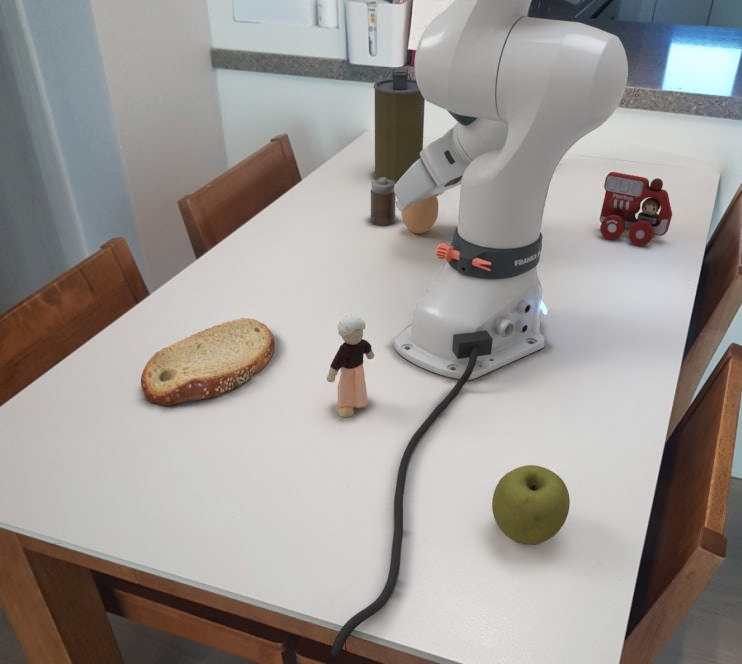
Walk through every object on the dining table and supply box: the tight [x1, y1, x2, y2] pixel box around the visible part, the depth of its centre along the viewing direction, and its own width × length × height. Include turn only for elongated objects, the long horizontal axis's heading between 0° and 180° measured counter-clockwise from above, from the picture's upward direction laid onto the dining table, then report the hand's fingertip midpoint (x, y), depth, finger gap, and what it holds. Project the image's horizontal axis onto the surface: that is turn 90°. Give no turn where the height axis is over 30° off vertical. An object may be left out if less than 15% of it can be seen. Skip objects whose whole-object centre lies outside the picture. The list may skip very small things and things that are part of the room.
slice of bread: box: [140, 317, 276, 406], centre depth 101 cm, size 18×18×4 cm
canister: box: [373, 67, 426, 185], centre depth 153 cm, size 11×10×20 cm
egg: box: [400, 195, 439, 235], centre depth 134 cm, size 7×7×9 cm
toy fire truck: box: [599, 171, 673, 247], centre depth 132 cm, size 7×12×10 cm, turn 60°
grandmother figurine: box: [326, 314, 375, 418], centre depth 91 cm, size 8×4×13 cm, turn 148°
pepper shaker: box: [370, 177, 397, 227], centre depth 138 cm, size 5×5×8 cm
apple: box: [491, 464, 571, 546], centre depth 76 cm, size 8×8×7 cm
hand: (417, 199), depth 132 cm, fingers open, 8 cm apart
